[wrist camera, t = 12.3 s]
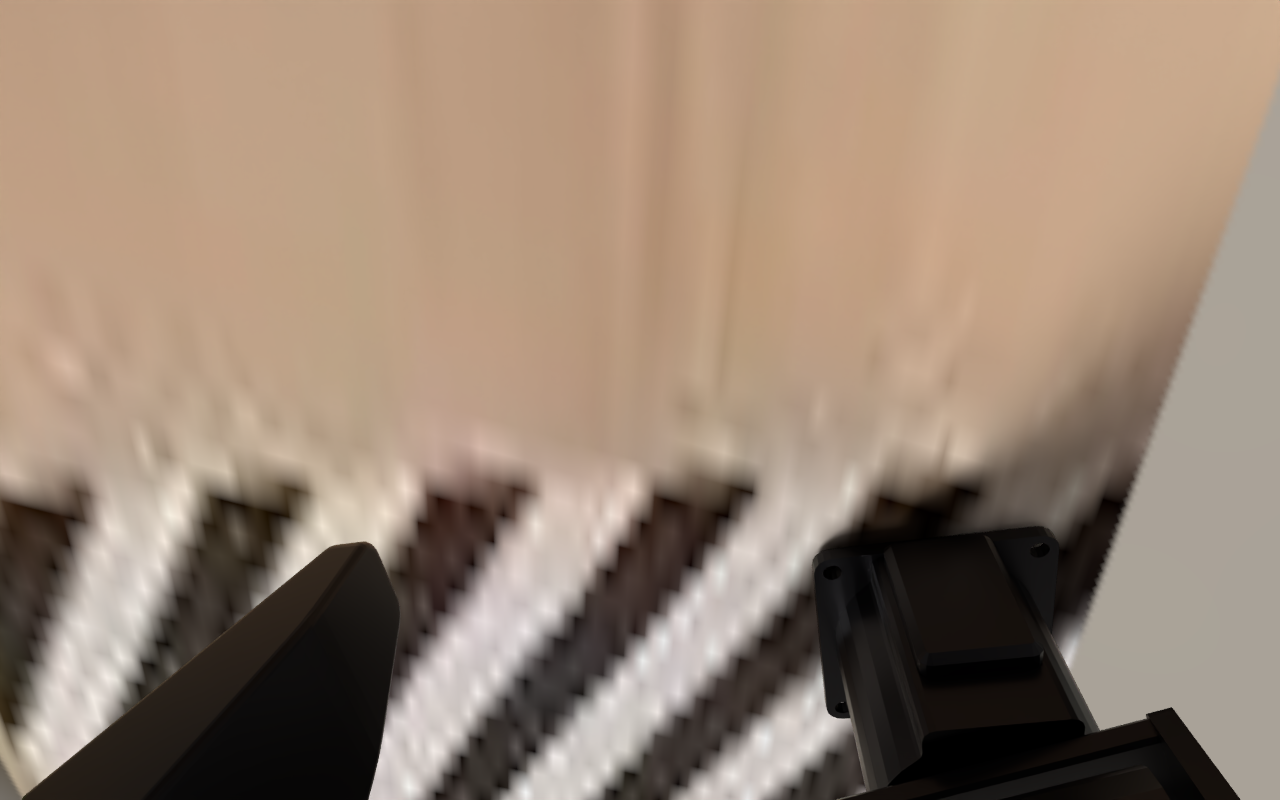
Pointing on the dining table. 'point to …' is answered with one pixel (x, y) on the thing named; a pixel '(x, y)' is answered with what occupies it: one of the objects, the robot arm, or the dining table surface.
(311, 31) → the dining table surface
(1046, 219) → the dining table surface
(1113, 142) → the dining table surface
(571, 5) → the dining table surface
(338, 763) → the robot arm
